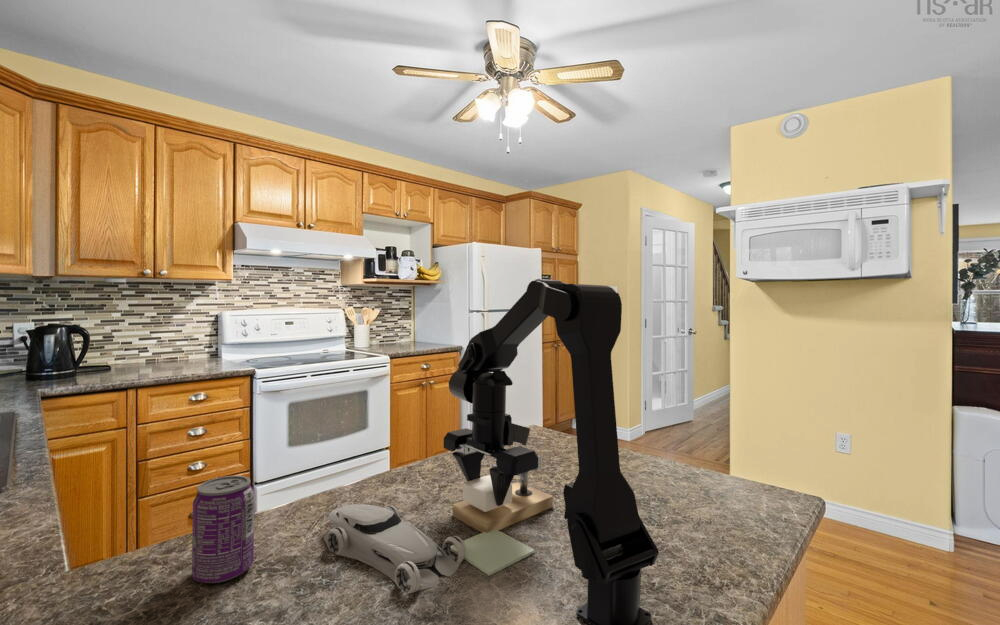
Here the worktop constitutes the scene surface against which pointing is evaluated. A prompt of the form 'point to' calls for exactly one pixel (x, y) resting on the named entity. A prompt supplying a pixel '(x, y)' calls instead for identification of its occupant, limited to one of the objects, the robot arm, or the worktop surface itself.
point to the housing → (504, 510)
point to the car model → (392, 546)
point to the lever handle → (525, 477)
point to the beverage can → (222, 529)
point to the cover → (483, 494)
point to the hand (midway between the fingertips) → (487, 499)
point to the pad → (493, 551)
